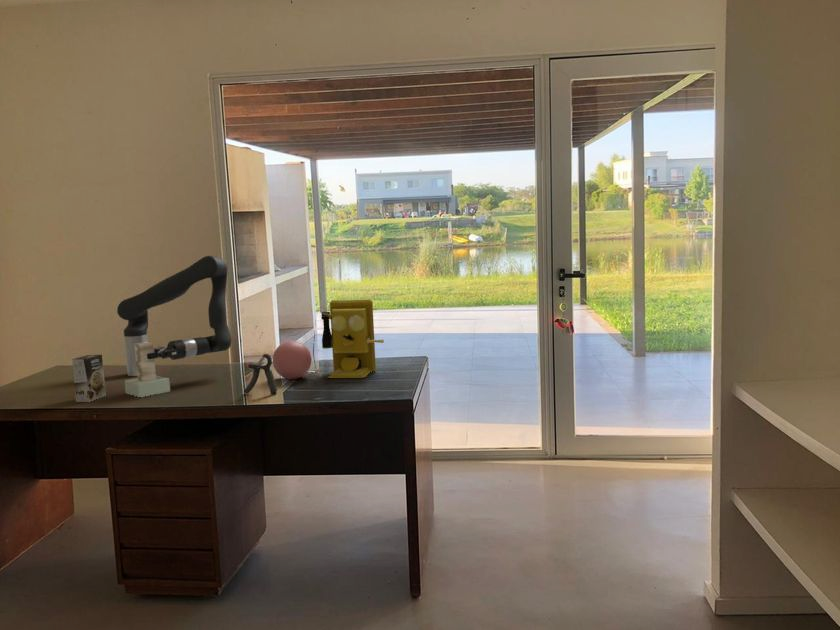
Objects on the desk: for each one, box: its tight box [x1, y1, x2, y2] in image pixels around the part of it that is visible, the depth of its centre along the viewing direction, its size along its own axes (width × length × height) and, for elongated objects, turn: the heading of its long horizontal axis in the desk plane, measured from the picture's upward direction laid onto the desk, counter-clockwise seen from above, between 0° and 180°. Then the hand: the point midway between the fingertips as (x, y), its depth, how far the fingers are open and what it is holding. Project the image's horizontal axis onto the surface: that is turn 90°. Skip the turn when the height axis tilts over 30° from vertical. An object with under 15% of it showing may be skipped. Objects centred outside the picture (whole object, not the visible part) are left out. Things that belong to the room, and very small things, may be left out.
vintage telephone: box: [312, 299, 384, 379], centre depth 283 cm, size 31×14×30 cm, turn 80°
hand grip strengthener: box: [243, 353, 278, 395], centre depth 257 cm, size 2×13×15 cm, turn 78°
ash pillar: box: [134, 341, 157, 382], centre depth 267 cm, size 5×5×14 cm
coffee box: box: [71, 354, 107, 403], centre depth 260 cm, size 9×6×16 cm
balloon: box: [272, 340, 313, 380], centre depth 284 cm, size 15×20×15 cm
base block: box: [124, 374, 171, 398], centre depth 268 cm, size 12×12×5 cm
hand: (142, 355), depth 266 cm, fingers open, 8 cm apart
